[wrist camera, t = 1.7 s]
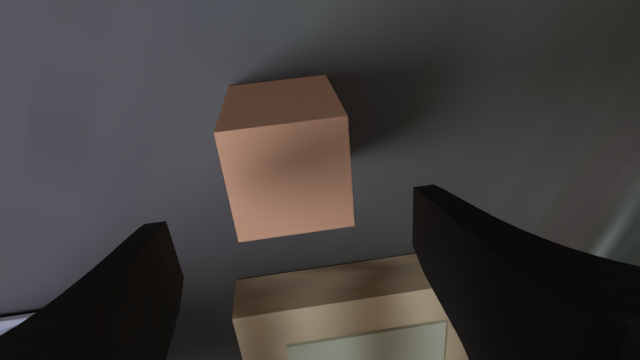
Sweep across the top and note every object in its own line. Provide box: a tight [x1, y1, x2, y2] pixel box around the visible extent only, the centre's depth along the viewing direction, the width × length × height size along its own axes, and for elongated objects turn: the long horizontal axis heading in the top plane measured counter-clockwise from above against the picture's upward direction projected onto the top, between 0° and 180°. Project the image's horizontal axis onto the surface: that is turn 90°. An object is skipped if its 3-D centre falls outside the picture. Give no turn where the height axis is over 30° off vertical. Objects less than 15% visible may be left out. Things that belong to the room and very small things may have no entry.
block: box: [214, 75, 354, 242], centre depth 18 cm, size 4×4×6 cm
